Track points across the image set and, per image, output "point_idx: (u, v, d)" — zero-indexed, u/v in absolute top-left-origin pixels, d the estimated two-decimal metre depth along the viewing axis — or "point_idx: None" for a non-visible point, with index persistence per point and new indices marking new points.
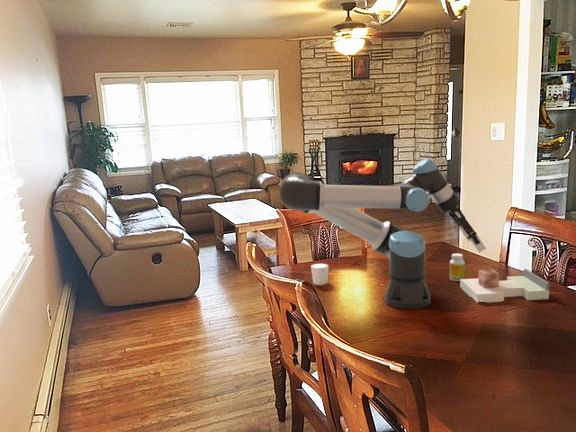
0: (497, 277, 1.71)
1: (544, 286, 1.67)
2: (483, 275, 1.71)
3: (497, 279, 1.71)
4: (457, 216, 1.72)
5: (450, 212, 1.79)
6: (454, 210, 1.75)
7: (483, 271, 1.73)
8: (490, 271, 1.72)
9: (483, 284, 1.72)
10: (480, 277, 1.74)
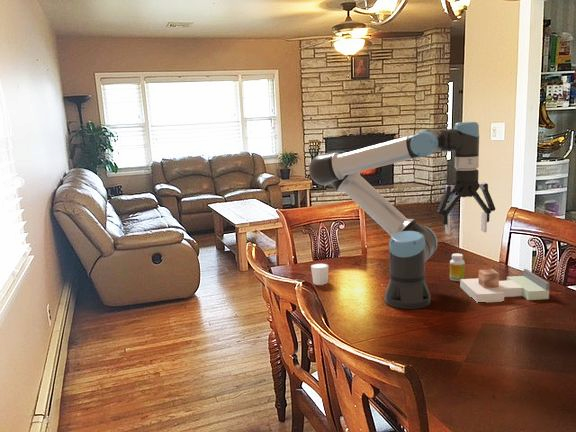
0: (497, 277, 1.71)
1: (544, 286, 1.67)
2: (483, 275, 1.71)
3: (497, 279, 1.71)
4: (445, 188, 1.68)
5: None
6: (455, 183, 1.67)
7: (483, 271, 1.73)
8: (490, 271, 1.72)
9: (483, 284, 1.72)
10: (480, 277, 1.74)
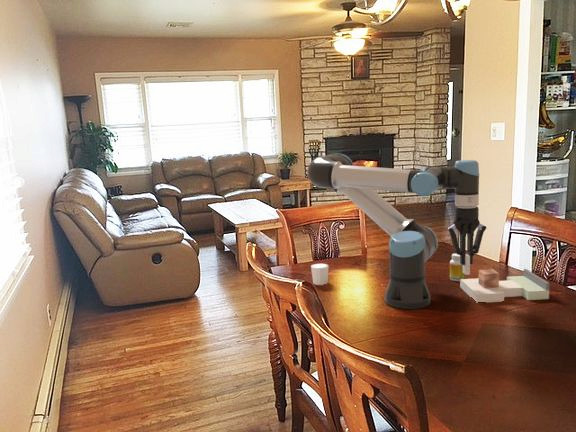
0: (497, 277, 1.71)
1: (544, 286, 1.67)
2: (483, 275, 1.71)
3: (497, 279, 1.71)
4: None
5: None
6: None
7: (483, 271, 1.73)
8: (490, 271, 1.72)
9: (483, 284, 1.72)
10: (480, 277, 1.74)
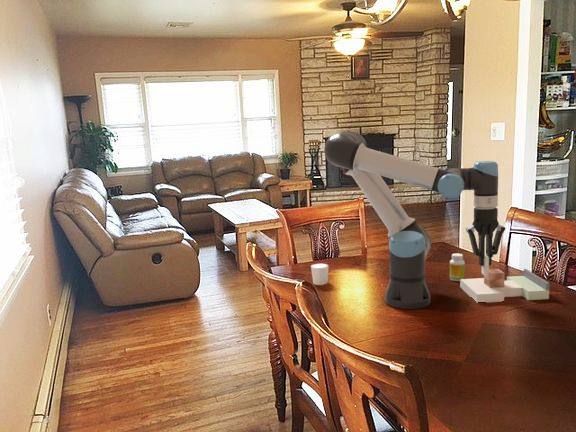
0: (503, 277, 1.70)
1: (544, 286, 1.67)
2: (489, 275, 1.71)
3: (503, 279, 1.71)
4: (467, 232, 1.70)
5: None
6: None
7: (489, 271, 1.73)
8: (495, 271, 1.72)
9: (488, 284, 1.72)
10: (485, 277, 1.74)
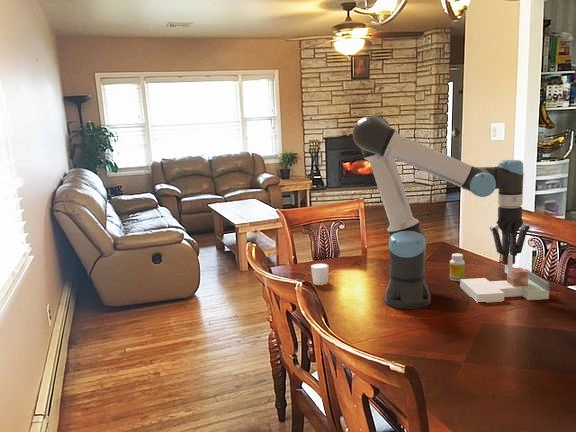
0: (526, 275, 1.70)
1: (544, 286, 1.67)
2: (513, 273, 1.71)
3: (526, 277, 1.71)
4: (491, 230, 1.70)
5: None
6: (497, 222, 1.69)
7: (512, 269, 1.73)
8: (519, 270, 1.72)
9: (512, 282, 1.72)
10: (509, 275, 1.74)
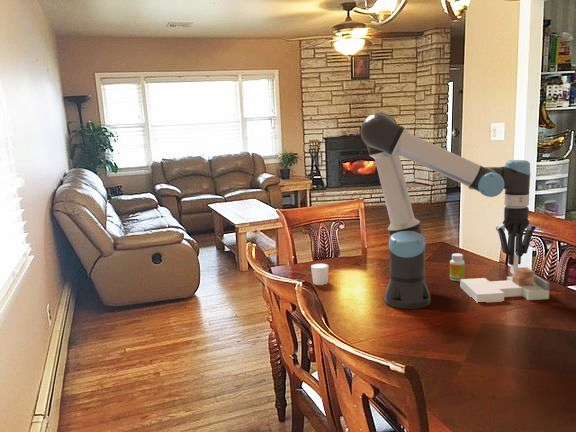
0: (532, 275, 1.70)
1: (544, 286, 1.67)
2: (518, 273, 1.71)
3: (532, 277, 1.71)
4: (497, 230, 1.71)
5: None
6: (503, 222, 1.69)
7: None
8: (525, 269, 1.72)
9: (518, 282, 1.72)
10: (514, 275, 1.74)
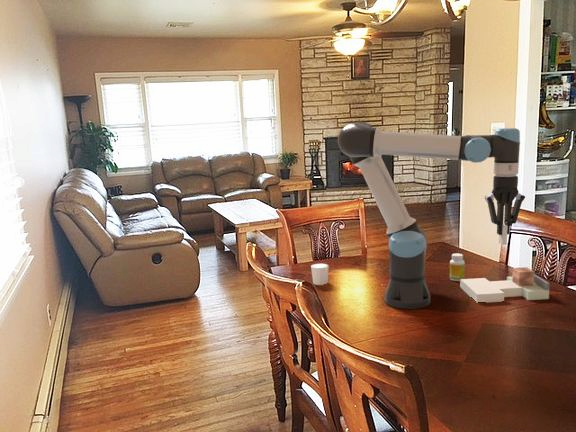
0: (532, 275, 1.70)
1: (544, 286, 1.67)
2: (518, 273, 1.71)
3: (532, 277, 1.71)
4: (486, 200, 1.69)
5: None
6: (492, 191, 1.67)
7: (517, 269, 1.73)
8: (525, 269, 1.72)
9: (518, 282, 1.72)
10: (514, 275, 1.74)
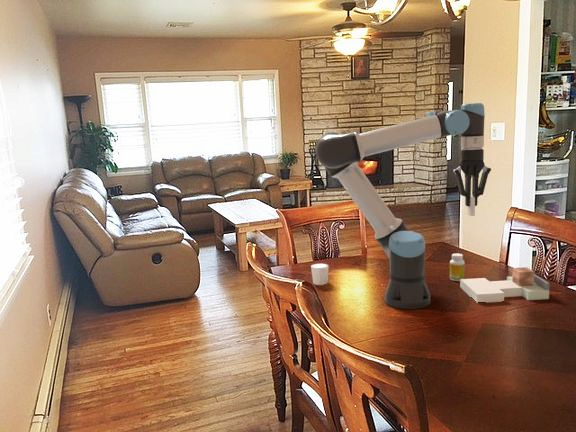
0: (532, 275, 1.70)
1: (544, 286, 1.67)
2: (518, 273, 1.71)
3: (532, 277, 1.71)
4: (454, 173, 1.76)
5: None
6: None
7: (517, 269, 1.73)
8: (525, 269, 1.72)
9: (518, 282, 1.72)
10: (514, 275, 1.74)
